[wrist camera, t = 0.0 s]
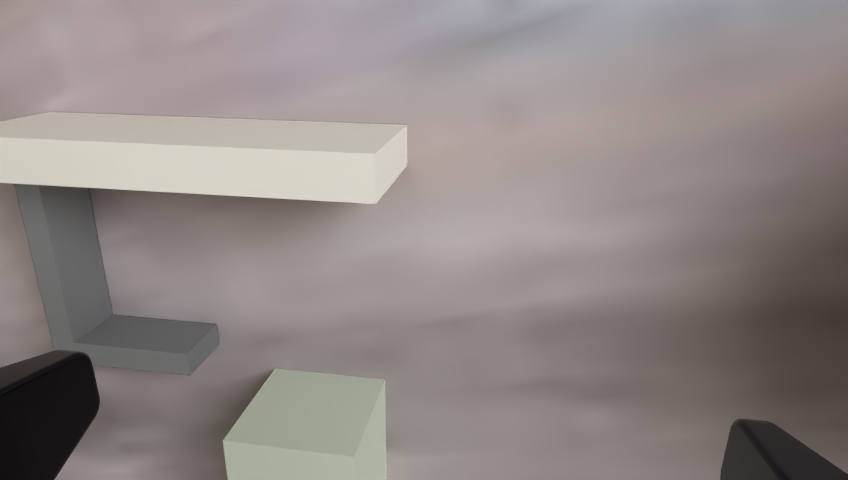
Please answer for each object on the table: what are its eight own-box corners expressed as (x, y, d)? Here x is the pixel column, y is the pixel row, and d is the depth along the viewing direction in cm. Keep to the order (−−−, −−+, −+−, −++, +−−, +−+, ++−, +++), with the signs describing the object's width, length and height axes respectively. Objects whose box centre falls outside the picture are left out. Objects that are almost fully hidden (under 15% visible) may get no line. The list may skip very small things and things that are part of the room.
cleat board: (407, 362, 25) (380, 439, 21) (96, 332, 27) (9, 396, 23) (406, 124, 22) (374, 154, 17) (50, 111, 24) (-65, 134, 19)
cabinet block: (387, 489, 28) (359, 583, 23) (285, 476, 29) (239, 564, 24) (385, 378, 26) (354, 457, 21) (275, 367, 27) (222, 440, 22)
